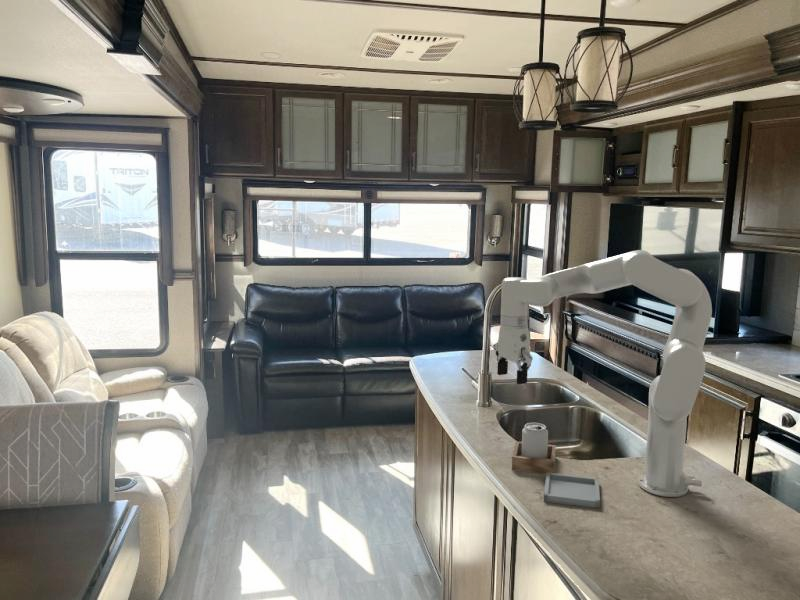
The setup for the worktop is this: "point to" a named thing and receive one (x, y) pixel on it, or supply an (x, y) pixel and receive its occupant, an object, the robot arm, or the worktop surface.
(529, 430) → the can
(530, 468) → the caddy
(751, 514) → the worktop surface
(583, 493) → the tray
